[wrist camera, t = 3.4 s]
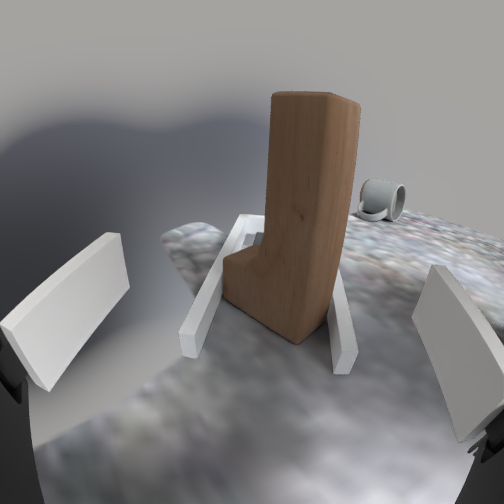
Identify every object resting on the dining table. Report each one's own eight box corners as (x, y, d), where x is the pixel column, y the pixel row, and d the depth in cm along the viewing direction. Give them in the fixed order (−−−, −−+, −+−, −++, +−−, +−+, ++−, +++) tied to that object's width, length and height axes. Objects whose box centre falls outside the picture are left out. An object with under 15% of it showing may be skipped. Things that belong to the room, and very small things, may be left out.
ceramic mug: (370, 206, 57) (375, 173, 54) (402, 218, 52) (409, 183, 48) (346, 214, 51) (351, 176, 48) (382, 228, 46) (390, 188, 42)
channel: (323, 237, 40) (325, 222, 39) (348, 374, 18) (358, 352, 17) (239, 229, 41) (240, 213, 40) (182, 356, 19) (178, 332, 18)
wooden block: (221, 298, 26) (223, 94, 18) (254, 281, 29) (263, 98, 21) (297, 348, 21) (332, 91, 12) (327, 321, 23) (363, 103, 15)
